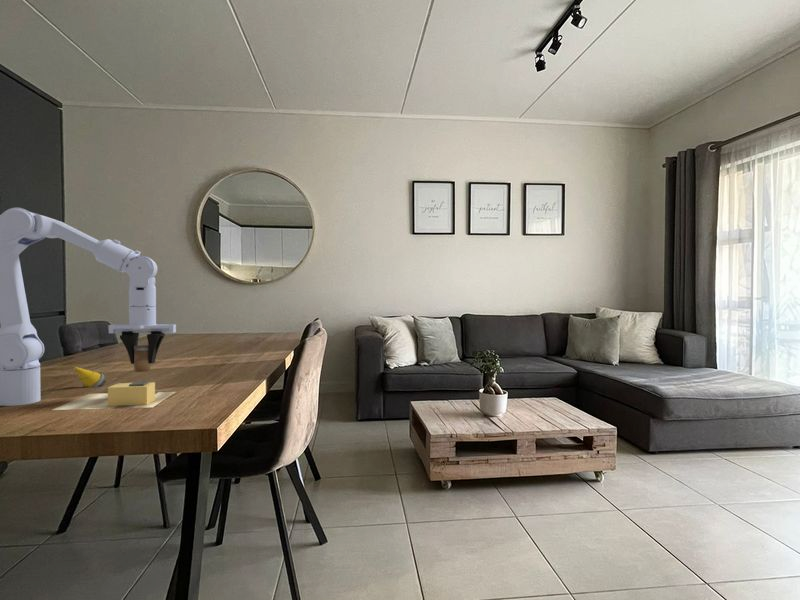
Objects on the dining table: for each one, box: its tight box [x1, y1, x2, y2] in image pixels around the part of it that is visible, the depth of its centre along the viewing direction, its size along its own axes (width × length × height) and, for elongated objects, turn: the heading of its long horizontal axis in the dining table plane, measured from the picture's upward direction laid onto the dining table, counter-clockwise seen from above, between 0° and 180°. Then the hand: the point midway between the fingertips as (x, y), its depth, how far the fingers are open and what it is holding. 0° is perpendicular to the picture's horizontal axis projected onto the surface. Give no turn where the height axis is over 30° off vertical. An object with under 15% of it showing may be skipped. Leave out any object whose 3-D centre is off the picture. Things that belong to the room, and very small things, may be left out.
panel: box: [52, 391, 176, 411], centre depth 111 cm, size 20×16×1 cm
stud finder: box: [107, 381, 156, 406], centre depth 108 cm, size 8×5×4 cm, turn 98°
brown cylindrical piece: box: [133, 344, 151, 373], centre depth 115 cm, size 4×4×6 cm
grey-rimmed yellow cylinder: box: [73, 366, 107, 388], centre depth 126 cm, size 5×5×10 cm
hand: (143, 363), depth 116 cm, fingers closed on brown cylindrical piece, 3 cm apart
